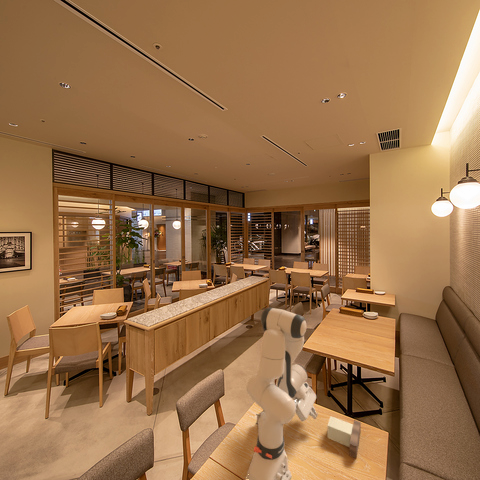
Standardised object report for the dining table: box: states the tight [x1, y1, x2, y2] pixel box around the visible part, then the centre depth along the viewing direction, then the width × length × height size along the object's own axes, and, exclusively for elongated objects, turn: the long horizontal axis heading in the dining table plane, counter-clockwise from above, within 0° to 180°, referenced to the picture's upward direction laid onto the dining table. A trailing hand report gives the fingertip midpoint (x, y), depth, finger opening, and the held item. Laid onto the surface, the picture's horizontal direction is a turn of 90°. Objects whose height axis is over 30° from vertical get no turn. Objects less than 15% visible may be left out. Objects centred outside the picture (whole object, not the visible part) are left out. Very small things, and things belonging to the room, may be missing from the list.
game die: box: [255, 409, 265, 425], centre depth 134 cm, size 9×8×10 cm
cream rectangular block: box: [327, 415, 354, 448], centre depth 126 cm, size 7×11×7 cm, turn 58°
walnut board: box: [349, 419, 362, 459], centre depth 122 cm, size 16×3×6 cm, turn 148°
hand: (316, 417), depth 131 cm, fingers closed
